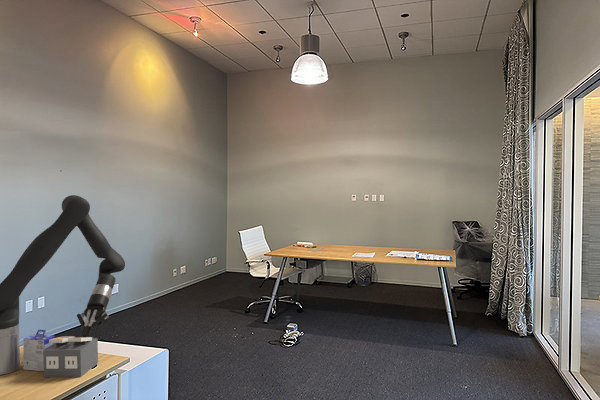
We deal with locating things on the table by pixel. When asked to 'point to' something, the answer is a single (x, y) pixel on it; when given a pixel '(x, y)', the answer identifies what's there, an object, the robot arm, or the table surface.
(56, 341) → the inner rocker
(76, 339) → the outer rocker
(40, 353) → the ink cartridge box
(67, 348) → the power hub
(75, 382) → the table surface
